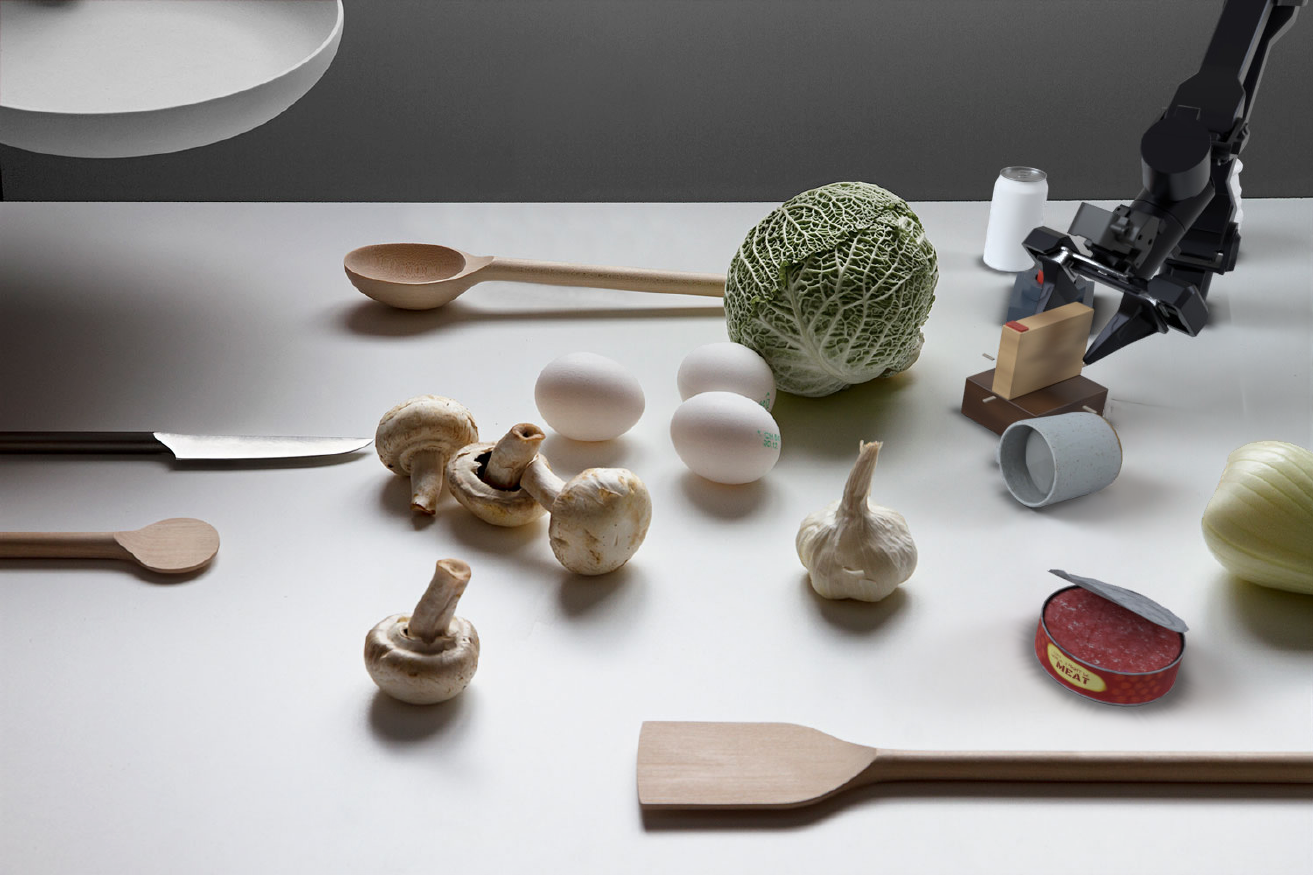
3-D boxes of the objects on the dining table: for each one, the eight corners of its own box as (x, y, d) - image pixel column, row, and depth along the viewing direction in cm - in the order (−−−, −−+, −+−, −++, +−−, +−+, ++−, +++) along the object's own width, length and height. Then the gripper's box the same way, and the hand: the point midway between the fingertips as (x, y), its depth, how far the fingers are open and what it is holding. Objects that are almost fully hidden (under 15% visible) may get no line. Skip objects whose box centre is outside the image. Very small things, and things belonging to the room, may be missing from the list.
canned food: (1021, 681, 87) (1006, 553, 86) (1151, 663, 87) (1137, 535, 86) (1078, 728, 76) (1061, 581, 75) (1227, 707, 76) (1211, 561, 75)
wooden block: (1026, 372, 121) (1032, 337, 118) (1137, 430, 110) (1146, 392, 108) (926, 407, 114) (931, 370, 112) (1034, 471, 104) (1042, 433, 102)
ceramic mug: (1120, 502, 99) (1138, 426, 96) (1046, 524, 97) (1062, 447, 93) (1039, 446, 108) (1052, 374, 104) (969, 465, 105) (980, 392, 101)
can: (979, 269, 145) (993, 178, 138) (986, 252, 150) (1000, 163, 143) (1031, 277, 142) (1048, 184, 136) (1037, 258, 148) (1053, 168, 141)
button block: (1014, 287, 140) (1019, 257, 138) (1091, 298, 137) (1098, 267, 135) (1005, 324, 131) (1010, 292, 129) (1087, 335, 128) (1094, 303, 126)
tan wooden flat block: (1063, 365, 113) (1077, 299, 109) (1081, 374, 112) (1095, 307, 108) (991, 391, 109) (1003, 322, 105) (1008, 400, 107) (1020, 331, 103)
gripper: (1051, 145, 110) (952, 274, 111) (1221, 200, 96) (1107, 347, 97) (1090, 208, 118) (998, 329, 118) (1253, 267, 104) (1148, 403, 105)
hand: (1057, 349), depth 109 cm, fingers open, 6 cm apart
